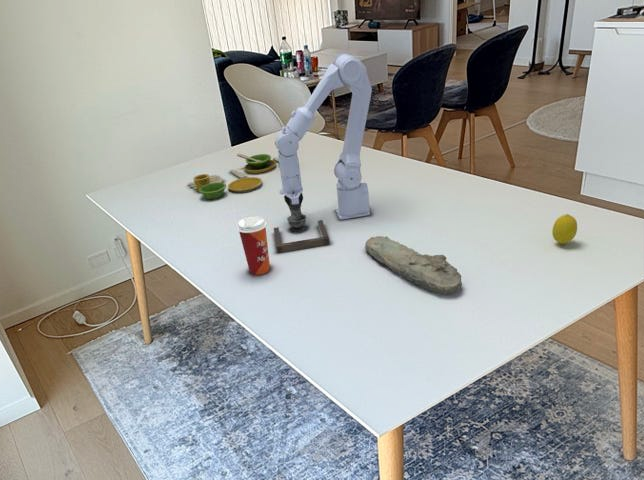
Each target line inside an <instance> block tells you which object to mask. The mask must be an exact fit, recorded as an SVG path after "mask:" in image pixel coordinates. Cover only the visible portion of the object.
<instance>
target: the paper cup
mask: <svg viewBox="0 0 644 480" xmlns="http://www.w3.org/2000/svg"><path fill="white" fill-rule="evenodd" d="M236 229H237V231H238V233H239V237H240V240H241V244H242V248H243V251H244V252H243V253H244V256H245V259H246V263H247V266H248V269H249V273H250V274H252V275H255V276H258V275H259V276H260V275H264V274H267V273H269V271H270V270H271V265H270V254H269V246H268V237H267V222H266V221H265V219H264V218H263V217H261V216H249V217H245V218H243V219H240V220H239V221H238V223H237V228H236Z"/></svg>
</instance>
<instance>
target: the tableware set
mask: <svg viewBox="0 0 644 480" xmlns="http://www.w3.org/2000/svg"><path fill="white" fill-rule="evenodd" d="M236 157H239V158H241V159H245V163H246V164H245V165H244V166H243V170H244V171H246V173H248V174H261V173H266V172H269V171H271V170H272V169H273V170H274V168H275V167H276V165H277V163H279V157H277V156H274V157H272V156H271V155H270V154H269V153H268V154H266V153H262V154H261V153H259V154H254V155H251V156H248V155H245V154H242V153H240V152H239V153H236ZM229 172H230V173H231V174H232V175H234V176H236V177H237V178H238V179H235V180H233V181H231V182H229V183H228V185H227V184H226V183H225V182H224V179H223V178H221V177H218V175H217V174H212V175H209V174H208V173H202V174H197V175H195V176H194V177H193V178H192V180H193V181H191V182H188V186H189V187H190V188H191V189H193V190H194V191H197V192H199V193H200V194H202V195H203V196H204V198H205V199H206V200H216V199H219V198H221V197H222V196H223V195H224V192H225V190H226V188H228V189H229V190H230V191H232V192H234V193H246V192H250V191H253V190H256V189H257V188H259V187H261V184H262V183H263V180H262V178H260V177H257V176H248V177H246V176H247V175H245V174H244V173H242V172H240V171H239V172H238V171H236V170H234V169H230V170H229Z"/></svg>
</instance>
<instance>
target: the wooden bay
mask: <svg viewBox="0 0 644 480" xmlns="http://www.w3.org/2000/svg"><path fill="white" fill-rule="evenodd" d="M317 227H318V230H319V234H320V236H319V237H315V238H309V239H308V238H307V239H302V240H296V241H289V242H284V243H282V239H281V234H280V228H279V226H276V227H273V233H274V240H275V246H276V247H275V248H276V252H277V254H279V253H286V252H287V253H288V252H292V251H299V250H304V249H310V248H317V247H322V246H329V245H330V237H329V235H328V232H327V229H326V226H325V223H324V221H323V219H320V220H317Z"/></svg>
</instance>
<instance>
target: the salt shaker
mask: <svg viewBox="0 0 644 480" xmlns="http://www.w3.org/2000/svg"><path fill="white" fill-rule="evenodd" d="M292 193H293V194H295V193H294V191H293V192H292ZM293 194H291V195H293ZM295 196H296V195H295ZM292 197H293V196H292ZM289 200H290V206H288V209H289V208H290V209H291V212H290V215H289V216H288V217H287V218H286V221H287V222H288V224H289V226H290V228H289V232H290V233H293V234H298V233H303V232H305V231H306V230H307V229H308V227H307V226H306V225H305V224H306V221H307V215H306V214H303V212H302V203H301V204H300V202H299V204H293V205H292V200H291V199H290V198H289ZM298 200H299V198H298ZM290 209H289V210H290Z"/></svg>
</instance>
